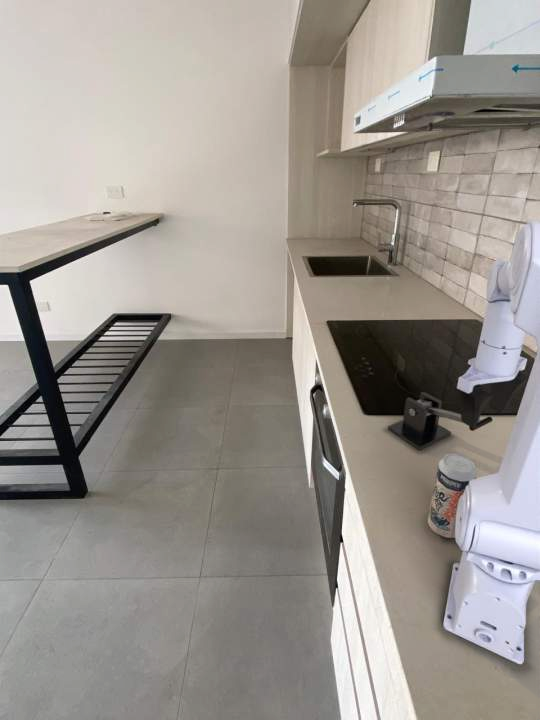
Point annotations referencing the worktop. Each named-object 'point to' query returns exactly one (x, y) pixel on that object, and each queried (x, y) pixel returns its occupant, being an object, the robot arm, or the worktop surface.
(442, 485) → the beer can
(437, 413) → the lever
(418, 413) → the bracket
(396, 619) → the worktop surface
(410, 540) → the worktop surface
